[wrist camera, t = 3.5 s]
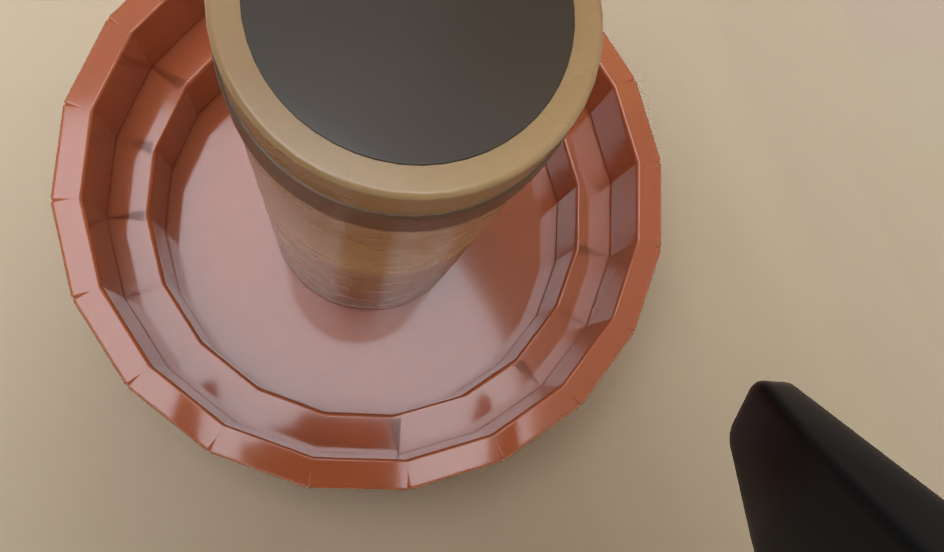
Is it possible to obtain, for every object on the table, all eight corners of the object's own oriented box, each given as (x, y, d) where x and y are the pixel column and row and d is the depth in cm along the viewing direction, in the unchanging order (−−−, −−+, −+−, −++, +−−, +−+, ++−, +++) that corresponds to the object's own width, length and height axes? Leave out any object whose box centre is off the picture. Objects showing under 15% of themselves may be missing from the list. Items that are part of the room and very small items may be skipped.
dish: (689, 297, 22) (767, 273, 18) (287, 578, 19) (275, 624, 15) (438, -81, 22) (461, -183, 18) (8, 136, 19) (-74, 69, 15)
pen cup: (500, 247, 20) (684, 77, 10) (340, 349, 19) (347, 283, 9) (399, 93, 21) (470, -241, 10) (234, 185, 20) (114, -80, 9)
